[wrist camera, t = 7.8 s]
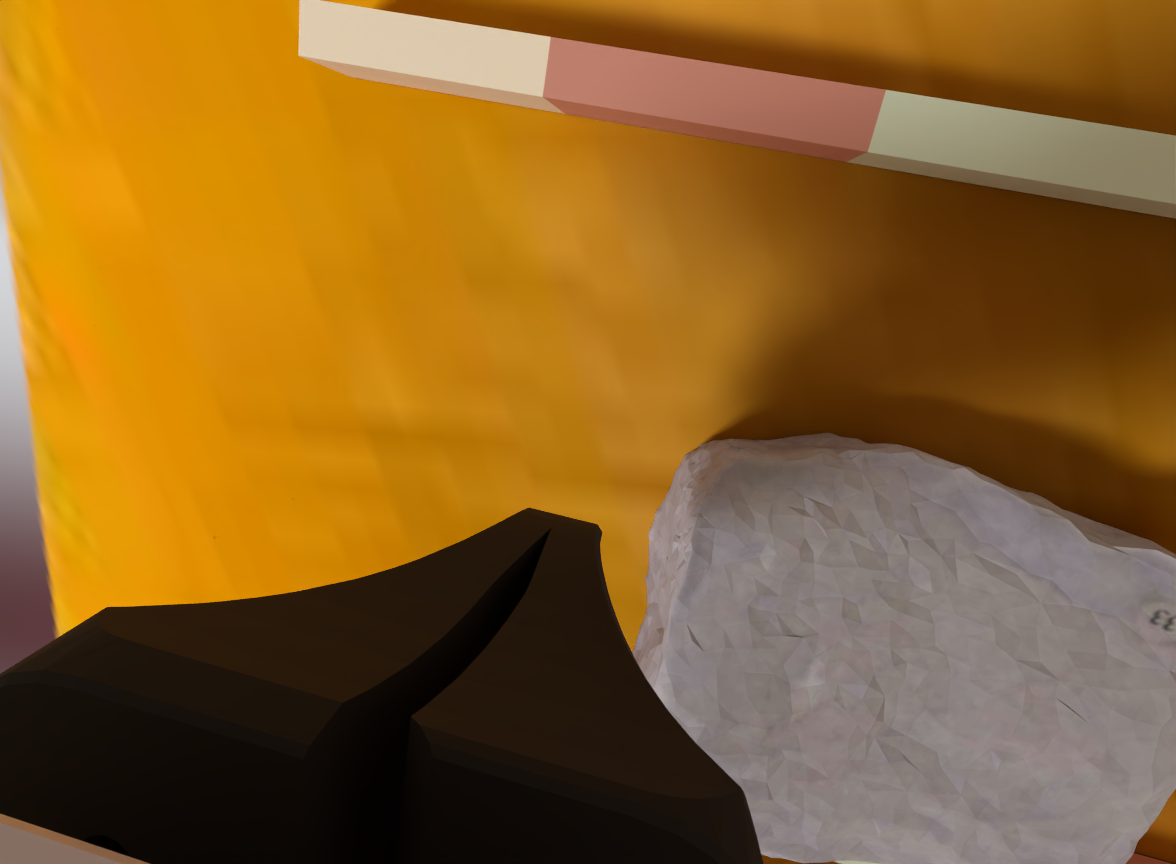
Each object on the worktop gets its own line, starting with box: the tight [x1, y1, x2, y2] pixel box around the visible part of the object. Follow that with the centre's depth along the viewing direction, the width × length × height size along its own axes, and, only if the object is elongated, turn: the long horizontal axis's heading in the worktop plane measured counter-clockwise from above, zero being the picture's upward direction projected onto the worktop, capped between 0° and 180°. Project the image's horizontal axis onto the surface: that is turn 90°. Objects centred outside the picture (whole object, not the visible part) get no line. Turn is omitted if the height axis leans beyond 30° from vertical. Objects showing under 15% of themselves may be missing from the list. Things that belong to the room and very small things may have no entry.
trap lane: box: [299, 0, 1176, 864], centre depth 15 cm, size 17×25×2 cm
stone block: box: [633, 433, 1176, 864], centre depth 15 cm, size 12×5×10 cm
